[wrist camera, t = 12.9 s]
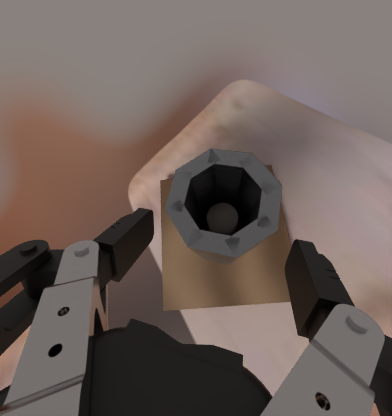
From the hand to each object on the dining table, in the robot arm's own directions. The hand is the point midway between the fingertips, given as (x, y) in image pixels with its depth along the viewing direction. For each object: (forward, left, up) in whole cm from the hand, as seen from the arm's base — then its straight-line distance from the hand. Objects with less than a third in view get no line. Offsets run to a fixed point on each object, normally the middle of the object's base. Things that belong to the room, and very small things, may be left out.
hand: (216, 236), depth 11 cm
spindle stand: (-1, -2, -10) cm, 11 cm away
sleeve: (-1, -2, -9) cm, 9 cm away
